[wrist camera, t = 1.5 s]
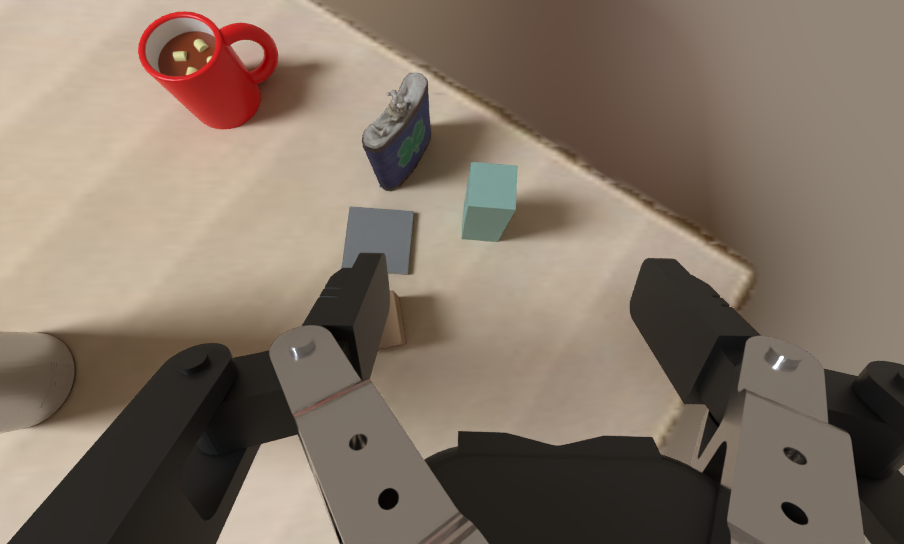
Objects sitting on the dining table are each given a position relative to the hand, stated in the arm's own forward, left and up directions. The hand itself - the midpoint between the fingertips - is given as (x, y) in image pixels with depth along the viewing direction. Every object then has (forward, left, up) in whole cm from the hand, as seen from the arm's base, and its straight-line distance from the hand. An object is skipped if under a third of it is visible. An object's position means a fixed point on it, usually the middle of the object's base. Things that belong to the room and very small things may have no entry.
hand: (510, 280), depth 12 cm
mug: (-28, +25, -28) cm, 47 cm away
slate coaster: (-10, +8, -28) cm, 31 cm away
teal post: (+1, +11, -28) cm, 30 cm away
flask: (-8, +18, -28) cm, 34 cm away
